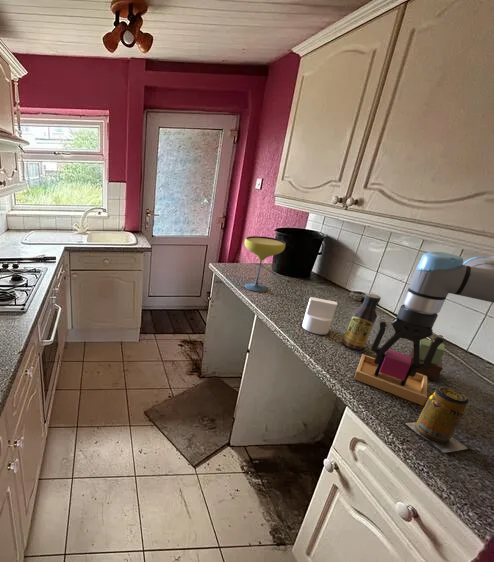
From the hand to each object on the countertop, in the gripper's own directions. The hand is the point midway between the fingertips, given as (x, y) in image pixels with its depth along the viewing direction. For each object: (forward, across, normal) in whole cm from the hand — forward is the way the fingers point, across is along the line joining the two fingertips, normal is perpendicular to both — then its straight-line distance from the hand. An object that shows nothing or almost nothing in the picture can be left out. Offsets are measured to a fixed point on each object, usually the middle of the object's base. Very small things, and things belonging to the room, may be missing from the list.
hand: (389, 378), depth 93 cm
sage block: (-4, -7, -14) cm, 16 cm away
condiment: (+1, -10, +18) cm, 21 cm away
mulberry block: (-2, 0, 0) cm, 2 cm away
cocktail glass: (+2, +57, -45) cm, 73 cm away
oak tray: (+1, 0, 0) cm, 1 cm away
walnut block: (+1, -7, -14) cm, 16 cm away
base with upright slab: (+1, +24, -20) cm, 31 cm away
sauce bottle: (+1, +11, -16) cm, 19 cm away
